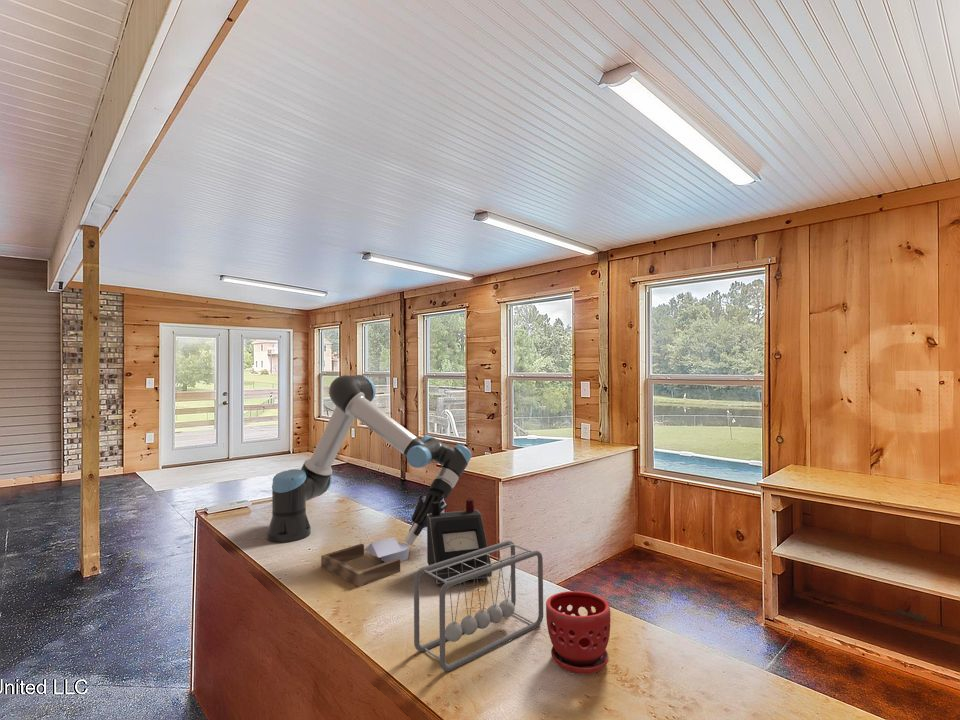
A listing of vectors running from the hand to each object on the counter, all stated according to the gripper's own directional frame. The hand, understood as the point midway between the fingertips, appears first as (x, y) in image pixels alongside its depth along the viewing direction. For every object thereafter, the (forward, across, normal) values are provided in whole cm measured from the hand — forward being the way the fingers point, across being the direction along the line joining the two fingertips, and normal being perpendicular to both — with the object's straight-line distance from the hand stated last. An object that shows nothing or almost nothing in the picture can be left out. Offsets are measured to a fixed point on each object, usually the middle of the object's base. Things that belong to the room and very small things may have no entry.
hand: (407, 542), depth 162 cm
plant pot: (+13, -74, +8) cm, 76 cm away
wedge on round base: (+8, 0, +2) cm, 8 cm away
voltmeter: (+3, -24, -2) cm, 25 cm away
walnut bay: (+15, +1, +10) cm, 18 cm away
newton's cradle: (+18, -54, +13) cm, 58 cm away
